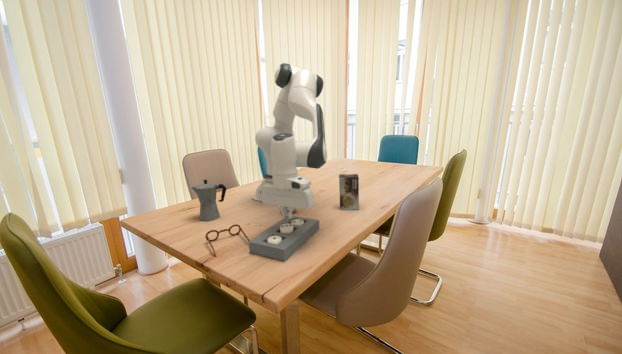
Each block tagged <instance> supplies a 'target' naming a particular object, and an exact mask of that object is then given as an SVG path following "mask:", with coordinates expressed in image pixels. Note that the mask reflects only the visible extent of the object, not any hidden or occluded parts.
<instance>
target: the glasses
mask: <svg viewBox="0 0 622 354" xmlns="http://www.w3.org/2000/svg"><path fill="white" fill-rule="evenodd" d="M234 227H238V231H237V232H236V233H232V232H231V229H232V228H234ZM223 232H228V234H229V235H230V236H237V235H239V234H240V233H242V234H243V237H245V238H246V240H247V242H248V243H249V241H251V240H250V239H249V237H248V235H247V234H246V233H245V231H244V230H243V228H242V227H241V226H240V225H239V224H238V223H237V224H232V225H231V226H230V227H229V228H226V229H221V230H216V229H211V230H209V231H207V232H206V234H205V239H206V241H207V242H208V243H209V246H210V248H211V249H212V252H213V255H214V257H216V258H217V253H216V251H215V248H214V247H213V244H212V242H215V241H216V240H218V239H219V237H220V236H219V235H220V234H221V233H223ZM211 233H216V237H215V238H213V239H210V238H209V234H211Z"/></svg>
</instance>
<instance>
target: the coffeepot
mask: <svg viewBox="0 0 622 354" xmlns="http://www.w3.org/2000/svg"><path fill="white" fill-rule="evenodd" d="M191 189H192V190H193V191H194V193H195V194H196V195H197V197H198V202H199V205H200V206H199V221H202V222H212V221H215V219H216V220H217V219H219V218H220V217H221V215H220V212H219V208H218V204H217V201H218V202H219V203H222V202H224V199H225V196H226V193H227V187H226V186H225V185H224V184H222V183H209V182H208V179H203V183H202V184H199V185H194V186H192V187H191ZM218 189H222V190H221V196H220V199H218V200H217V190H218Z"/></svg>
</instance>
